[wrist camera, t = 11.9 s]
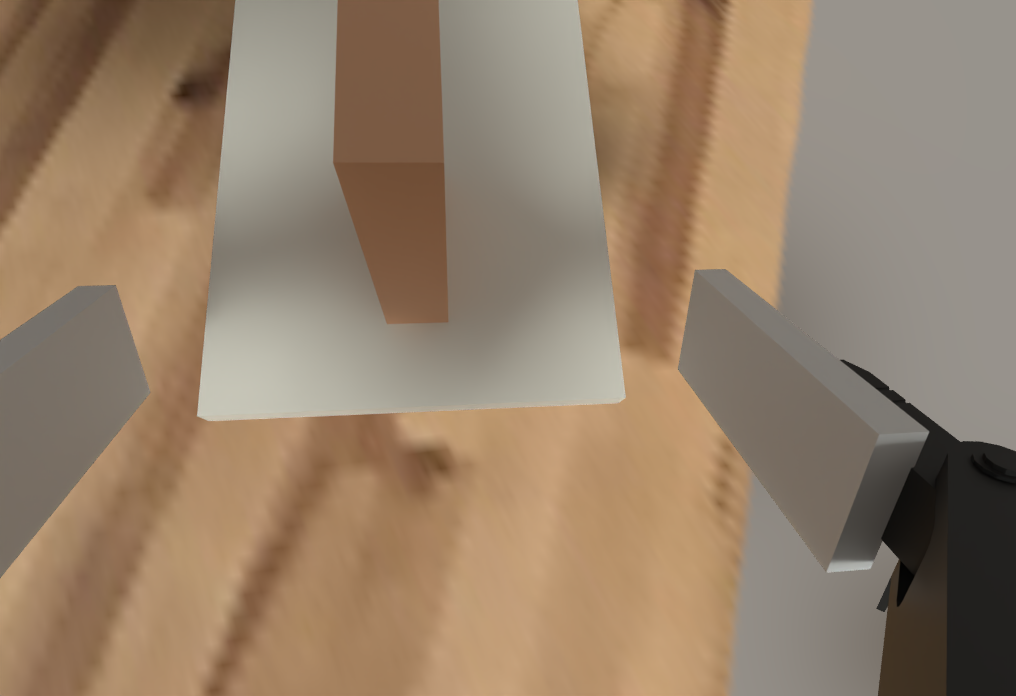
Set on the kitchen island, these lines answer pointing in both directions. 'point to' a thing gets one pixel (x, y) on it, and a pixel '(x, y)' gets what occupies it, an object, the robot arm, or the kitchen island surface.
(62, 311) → the robot arm
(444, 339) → the lid
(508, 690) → the kitchen island surface
